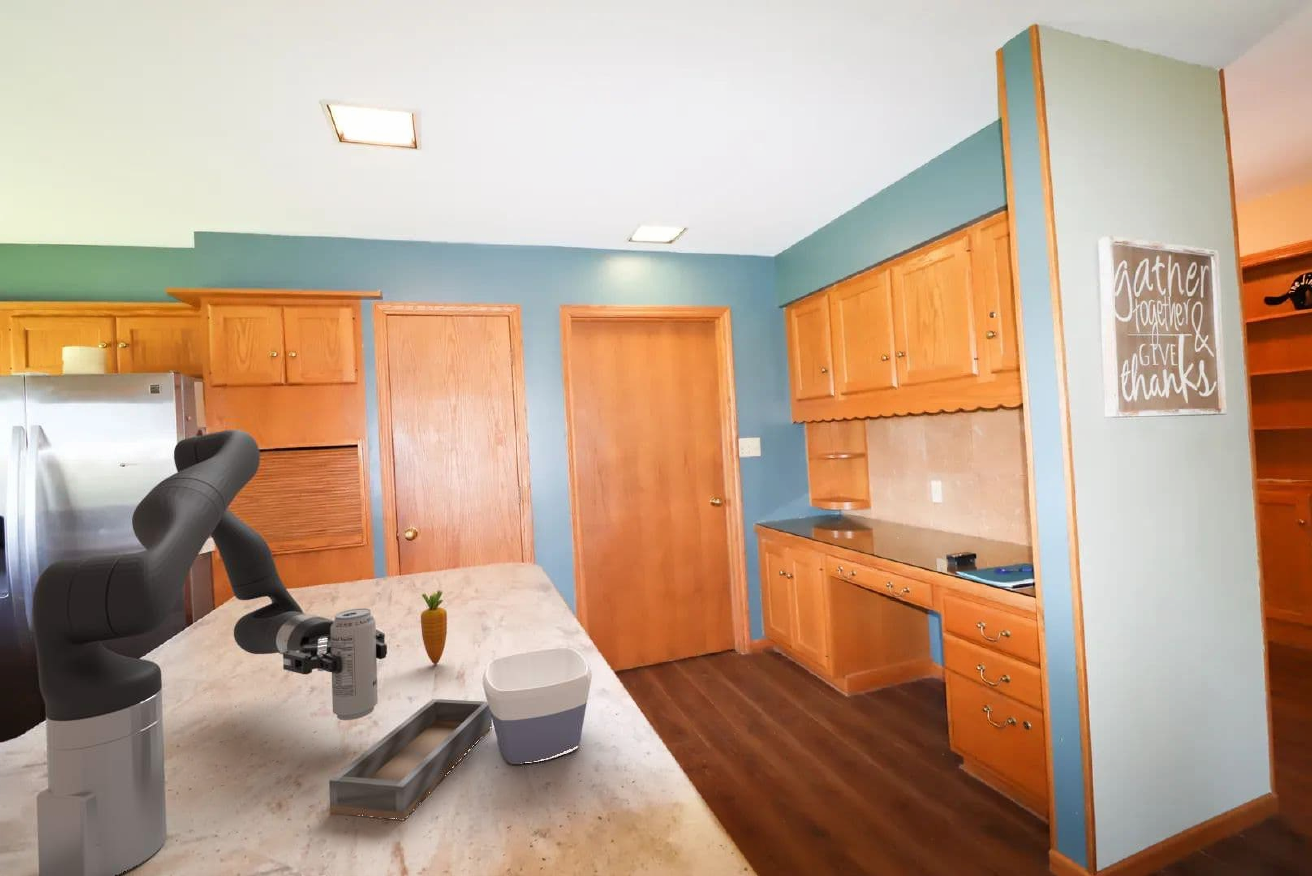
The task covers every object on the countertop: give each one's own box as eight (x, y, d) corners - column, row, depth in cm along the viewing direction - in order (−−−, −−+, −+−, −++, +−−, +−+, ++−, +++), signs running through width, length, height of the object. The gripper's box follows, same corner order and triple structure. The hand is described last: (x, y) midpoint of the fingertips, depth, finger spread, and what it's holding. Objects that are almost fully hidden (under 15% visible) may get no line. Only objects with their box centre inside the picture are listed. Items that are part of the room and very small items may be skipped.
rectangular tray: (404, 820, 67) (403, 786, 67) (330, 813, 69) (329, 780, 69) (491, 727, 89) (491, 701, 89) (433, 723, 91) (432, 698, 91)
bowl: (481, 730, 88) (479, 658, 88) (579, 709, 94) (576, 642, 94) (489, 784, 74) (486, 698, 74) (604, 756, 79) (601, 676, 80)
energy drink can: (385, 709, 87) (382, 610, 87) (344, 725, 82) (341, 621, 82) (366, 700, 91) (363, 605, 91) (325, 715, 86) (322, 615, 86)
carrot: (416, 667, 115) (414, 592, 115) (436, 658, 119) (434, 586, 119) (434, 670, 113) (431, 594, 113) (453, 661, 117) (451, 588, 117)
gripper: (260, 629, 89) (309, 648, 79) (354, 606, 101) (407, 620, 91) (262, 677, 89) (311, 702, 79) (355, 649, 101) (408, 667, 91)
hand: (362, 658), depth 85 cm, fingers closed on energy drink can, 6 cm apart
